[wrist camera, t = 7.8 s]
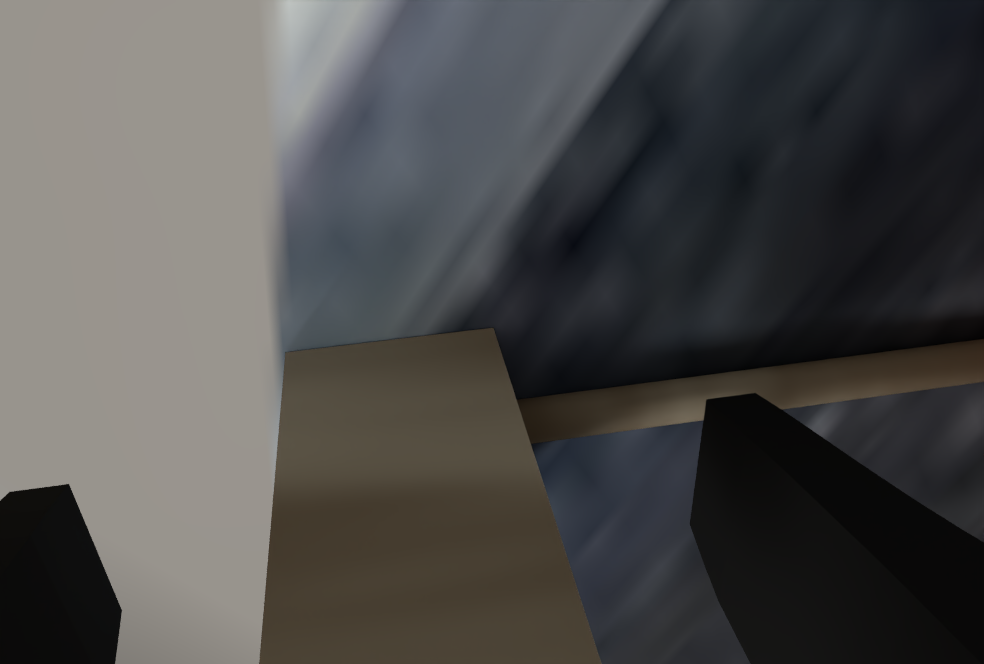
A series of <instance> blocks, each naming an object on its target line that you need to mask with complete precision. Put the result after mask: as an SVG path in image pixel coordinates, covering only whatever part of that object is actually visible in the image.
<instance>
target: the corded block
mask: <svg viewBox="0 0 984 664" xmlns="http://www.w3.org/2000/svg"><path fill="white" fill-rule="evenodd" d="M978 382H984V339H979V340H972V341H964V342H956V343H949V344H941V345H933V346H925V347H918V348H910V349H902V350H895V351H887V352H879V353H872V354H864V355H856V356H849V357H841V358H833V359H826V360H818V361H810V362H803V363H795V364H787V365H780V366H772V367H764V368H757V369H749V370H741V371H733V372H726V373H718V374H710V375H703V376H695V377H687V378H680V379H672V380H664V381H657V382H649V383H641V384H634V385H626V386H618V387H611V388H603V389H595V390H588V391H580V392H572V393H565V394H557V395H549V396H542V397H534V398H526V399H518V400H516V397H515V394H514V390H513V387H512V384H511V381H510V378H509V375H508V372H507V369H506V366H505V362H504V359H503V356H502V353H501V350H500V347H499V344H498V341H497V338H496V334H495V331H494V328H486V329H478V330H470V331H461V332H453V333H444V334H436V335H427V336H419V337H411V338H402V339H394V340H385V341H377V342H369V343H360V344H352V345H343V346H335V347H327V348H318V349H310V350H301V351H293V352H285V364H284V376H283V388H282V400H281V411H280V423H279V435H278V447H277V459H276V471H275V483H274V495H273V507H272V519H271V530H270V531H271V532H270V542H269V543H270V544H269V555H268V566H267V578H266V591H265V603H264V614H263V626H262V637H261V638H262V639H261V650H260V662H259V664H601V661H600V658H599V655H598V652H597V649H596V646H595V642H594V639H593V636H592V633H591V630H590V627H589V624H588V621H587V618H586V614H585V611H584V608H583V605H582V602H581V599H580V596H579V593H578V590H577V586H576V583H575V580H574V577H573V574H572V571H571V568H570V565H569V562H568V558H567V555H566V552H565V549H564V546H563V543H562V540H561V537H560V534H559V530H558V527H557V524H556V521H555V518H554V515H553V512H552V509H551V506H550V502H549V499H548V496H547V493H546V490H545V487H544V484H543V481H542V478H541V474H540V471H539V468H538V465H537V462H536V459H535V456H534V453H533V450H532V446H531V444H533V443H540V442H548V441H555V440H562V439H569V438H577V437H584V436H591V435H599V434H606V433H613V432H620V431H628V430H635V429H642V428H650V427H657V426H664V425H671V424H679V423H686V422H693V421H701V420H704V413H705V405H706V399H712V398H720V397H727V396H735V395H742V394H750V393H756V394H758V395H760V396H761V397H763V398H764V399H766V400H768V401H769V402H771V403H772V404H774V405H775V406H777V407H778V408H780V409H788V408H795V407H803V406H810V405H817V404H825V403H832V402H839V401H846V400H854V399H861V398H868V397H876V396H883V395H890V394H897V393H905V392H912V391H919V390H927V389H934V388H941V387H948V386H956V385H963V384H970V383H978Z"/></svg>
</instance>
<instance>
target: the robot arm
mask: <svg viewBox="0 0 984 664" xmlns="http://www.w3.org/2000/svg"><path fill="white" fill-rule="evenodd" d="M690 526H691V529H692V531H693V534H694V537H695V540H696V543H697V545H698V548H699V551H700V554H701V556H702V559H703V562H704V565H705V567H706V570H707V573H708V575H709V578H710V580H711V583H712V585H713V588H714V591H715V593H716V596H717V598H718V601H719V603H720V605H721V607H722V609H723V611H724V613H725V615H726V617H727V619H728V621H729V623H730V625H731V626H732V628H733V630H734V632H735V634H736V636H737V638H738V640H739V642H740V644H741V646H742V648H743V650H744V652H745V653H746V655H747V657H748V659H749V661H750V663H751V664H984V542H982V541H980V540H979V539H977V538H975V537H974V536H972V535H970V534H969V533H967V532H965V531H964V530H962V529H960V528H959V527H957V526H956V525H954V524H952V523H951V522H949V521H948V520H946V519H944V518H943V517H941V516H940V515H938V514H936V513H935V512H933V511H932V510H930V509H928V508H927V507H925V506H924V505H922V504H921V503H919V502H918V501H916V500H914V499H913V498H911V497H910V496H908V495H907V494H905V493H904V492H902V491H901V490H899V489H898V488H896V487H895V486H893V485H892V484H890V483H889V482H887V481H886V480H884V479H883V478H881V477H880V476H878V475H877V474H875V473H874V472H872V471H871V470H869V469H868V468H866V467H865V466H863V465H862V464H860V463H859V462H857V461H856V460H854V459H853V458H851V457H850V456H849V455H847V454H846V453H844V452H843V451H841V450H840V449H838V448H837V447H835V446H834V445H832V444H831V443H830V442H828V441H827V440H825V439H824V438H822V437H821V436H819V435H818V434H816V433H815V432H814V431H812V430H811V429H809V428H808V427H806V426H805V425H803V424H802V423H800V422H799V421H797V420H796V419H795V418H793V417H792V416H790V415H789V414H787V413H786V412H784V411H783V410H781V409H780V408H778V407H777V406H775V405H774V404H772V403H771V402H769V401H768V400H766V399H764V398H763V397H761V396H760V395H758V394H756V393H750V394H742V395H735V396H727V397H720V398H712V399H706V405H705V413H704V421H703V428H702V436H701V443H700V451H699V459H698V466H697V474H696V481H695V489H694V497H693V504H692V512H691V519H690ZM121 612H122V610H121V607H120V605H119V603H118V600H117V598H116V595H115V593H114V591H113V588H112V586H111V583H110V581H109V579H108V576H107V574H106V572H105V569H104V567H103V564H102V562H101V560H100V557H99V555H98V553H97V550H96V548H95V545H94V543H93V541H92V538H91V536H90V534H89V531H88V529H87V526H86V524H85V522H84V519H83V517H82V514H81V512H80V510H79V507H78V505H77V502H76V500H75V498H74V495H73V493H72V490H71V488H70V486H69V484H66V485H59V486H52V487H44V488H37V489H29V490H21V491H14V492H9V493H8V494H7V495H6V496H5V497H4V498H3V499H2V500H1V501H0V664H115V660H116V652H117V644H118V636H119V629H120V621H121Z"/></svg>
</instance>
